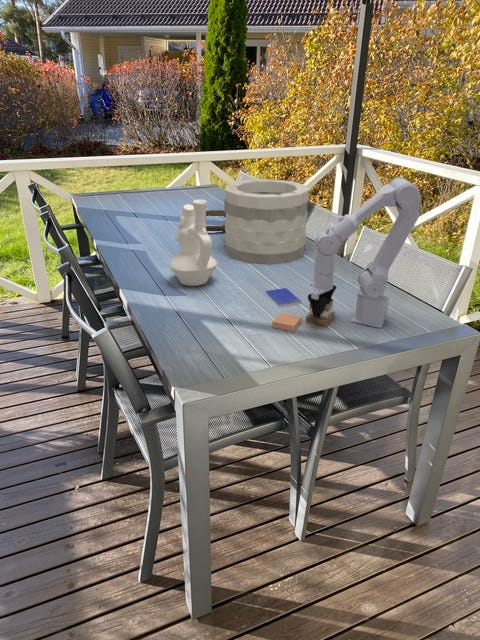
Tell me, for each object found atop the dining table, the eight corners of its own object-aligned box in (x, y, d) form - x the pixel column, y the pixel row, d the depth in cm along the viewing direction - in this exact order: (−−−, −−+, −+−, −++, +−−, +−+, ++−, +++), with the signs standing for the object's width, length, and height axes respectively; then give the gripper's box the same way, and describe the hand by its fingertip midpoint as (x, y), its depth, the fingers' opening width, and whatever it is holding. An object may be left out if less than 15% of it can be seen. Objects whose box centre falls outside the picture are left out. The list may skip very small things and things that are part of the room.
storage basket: (286, 235, 238) (288, 177, 226) (319, 259, 208) (324, 193, 196) (215, 242, 228) (214, 182, 216) (239, 269, 199) (239, 200, 186)
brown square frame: (174, 233, 242) (174, 224, 240) (190, 216, 269) (190, 208, 267) (237, 236, 237) (237, 227, 235) (247, 219, 264) (247, 210, 262)
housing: (331, 313, 158) (333, 299, 156) (327, 319, 154) (328, 304, 152) (314, 309, 160) (315, 295, 158) (309, 315, 157) (310, 300, 154)
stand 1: (301, 322, 156) (302, 317, 156) (293, 332, 151) (293, 326, 150) (281, 318, 159) (281, 312, 158) (272, 327, 154) (272, 321, 153)
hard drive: (301, 301, 169) (286, 287, 179) (279, 304, 166) (265, 290, 177) (301, 305, 169) (286, 291, 180) (279, 308, 167) (265, 294, 177)
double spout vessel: (209, 270, 197) (207, 188, 182) (227, 291, 178) (226, 202, 164) (165, 276, 191) (159, 192, 177) (179, 298, 173) (173, 206, 158)
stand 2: (334, 317, 159) (334, 312, 159) (327, 326, 154) (327, 321, 153) (313, 313, 162) (313, 307, 161) (305, 322, 157) (306, 316, 156)
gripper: (319, 261, 158) (316, 300, 164) (303, 277, 147) (300, 318, 153) (341, 265, 155) (337, 305, 161) (325, 281, 144) (322, 323, 150)
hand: (320, 311), depth 157 cm, fingers open, 7 cm apart
